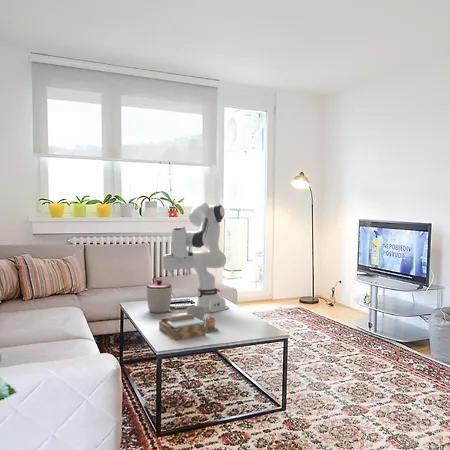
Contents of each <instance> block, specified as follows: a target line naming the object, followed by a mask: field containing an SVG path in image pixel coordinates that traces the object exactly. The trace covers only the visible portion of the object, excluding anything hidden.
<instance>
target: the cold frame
mask: <svg viewBox="0 0 450 450" xmlns="http://www.w3.org/2000/svg"><path fill="white" fill-rule="evenodd" d="M170 317H171V316H169V317H163V318H162V317H161V318H160V320H159V323H158V328H159V329H158V330H160V331H161V330H162V331H161V332H163V333H165V334H166V335H167V336H169V337H170V338H171V339H173V340H175V341H178V340H179V339H180V340H185V339H192V338H196V337H200V336H206V325H205V324H204V323H202V324H196V325H190V326H183V327H177V328H176V329H175V328H174V327H173V326H171V325H169V324H168V323H167V322H169V321H170Z"/></svg>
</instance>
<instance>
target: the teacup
mask: <svg viewBox="0 0 450 450" xmlns="http://www.w3.org/2000/svg"><path fill="white" fill-rule="evenodd" d="M205 308H207V311H204V309H205ZM208 311H209V309H208V307H203V306H197V305H191V306H188V307H187V308H186V315H187V314H194V318H198V319H200V320H202V321H203V318H204V317H205V316H206V315H207V314H208V313H209V312H208Z"/></svg>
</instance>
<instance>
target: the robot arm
mask: <svg viewBox="0 0 450 450" xmlns="http://www.w3.org/2000/svg"><path fill="white" fill-rule="evenodd" d="M224 216H225V209H224V207H223V206H222V205H221V204H209V203H208V202H206V201H203V200H200V201H198V202H197V203H195V204H194V206H193V207H192V208H191V211H190V212H189V215H188V219H189V221H190V223H191V224H192V225H194V226H195V227H199V230H187V228H186V227H185V226H184V225H178V226H174V227H173V228H172V233H171V244H172V246H171V253H170V254H169V253H168V254H165V255H164V256H163V257H162V269H163V270H164V271H168V273H169V274H170V278H174V277H175V274H174V273H173V270H174V271H175V270H182V269H183V270H184V269H185V272H184V276H186V277H187V276H188V275H189V272H190V269H192V268H193V269H194V270H195V271H194V272H196V274H197V279H198V280H197V282H198V283H197V284H198V288H197V303H196V306H203V307H208V309H209V311H208V312H207V313H216V312H219V311H223V310H228V309H230V306H229V305H227V304H226V300H225V298H224V297H223V296H221V295H220V294H219V292H221V289H220V288H216V277H215V275H214V274H213V273H211V272H209V270H208V268H209V269H220V268H223V267H224V266H225V265H226V263H227V257H226V255H225V254H224V252H222V251H221V249H220V246H219V242H220V241H219V239H220V235H221V234H220V232H221V225H220V223H221V222H222V220H223V219H224ZM187 247H194V248H197V249H198V248H199V249H201V248H203V247H204V248H205V249H207V250H195V251H189V250H187V249H188V248H187ZM206 311H207V308H205V309H204V312H206Z"/></svg>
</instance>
